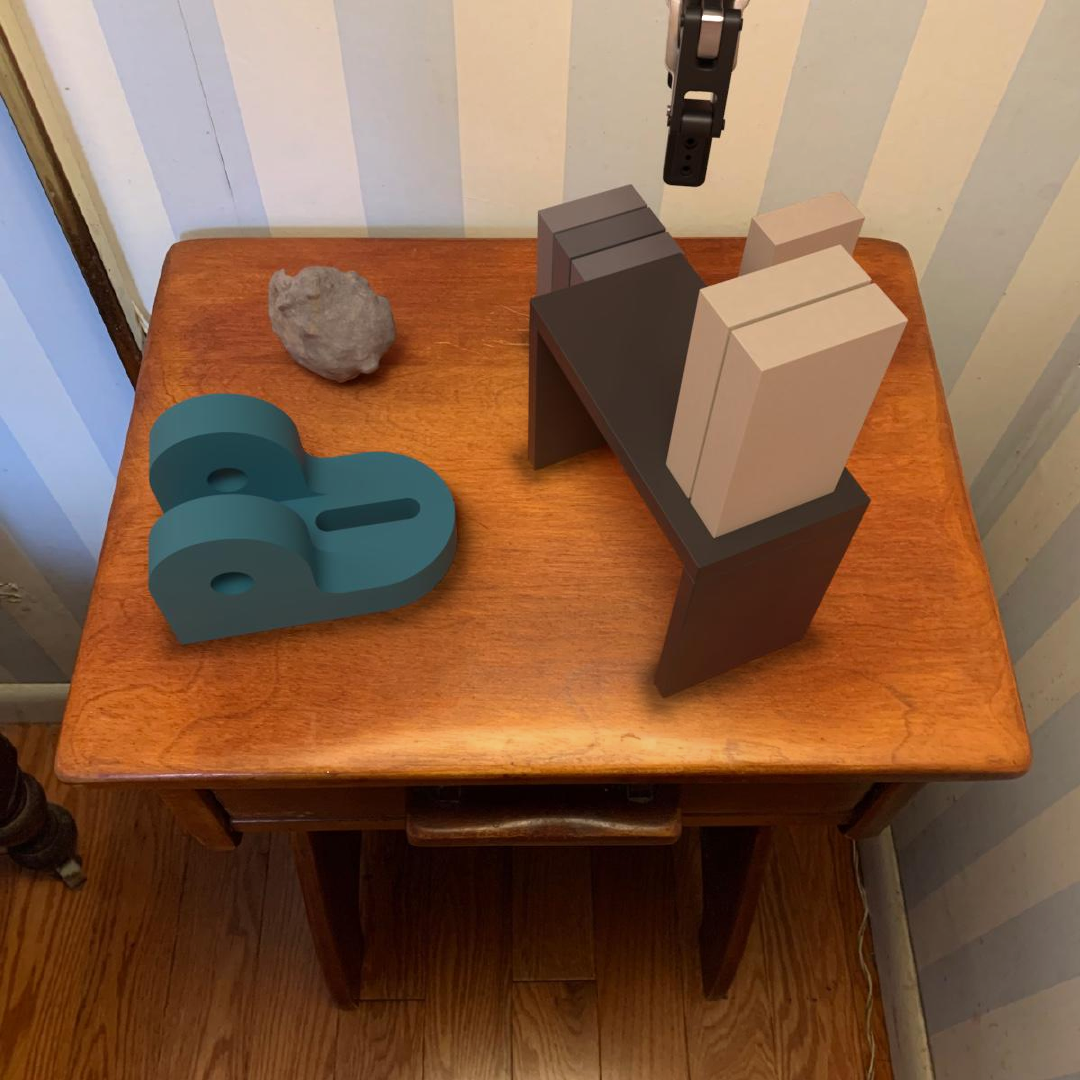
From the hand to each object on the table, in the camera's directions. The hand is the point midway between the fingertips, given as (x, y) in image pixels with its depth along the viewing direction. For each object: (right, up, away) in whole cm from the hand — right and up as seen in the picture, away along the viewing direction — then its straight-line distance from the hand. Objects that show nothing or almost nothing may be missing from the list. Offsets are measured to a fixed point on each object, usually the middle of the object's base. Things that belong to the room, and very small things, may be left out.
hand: (684, 132), depth 57 cm
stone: (-23, -10, +20) cm, 32 cm away
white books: (+3, -19, -4) cm, 20 cm away
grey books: (-4, -9, +20) cm, 23 cm away
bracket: (-22, -23, +11) cm, 34 cm away
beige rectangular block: (+10, -8, +22) cm, 25 cm away
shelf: (0, -23, +12) cm, 25 cm away
